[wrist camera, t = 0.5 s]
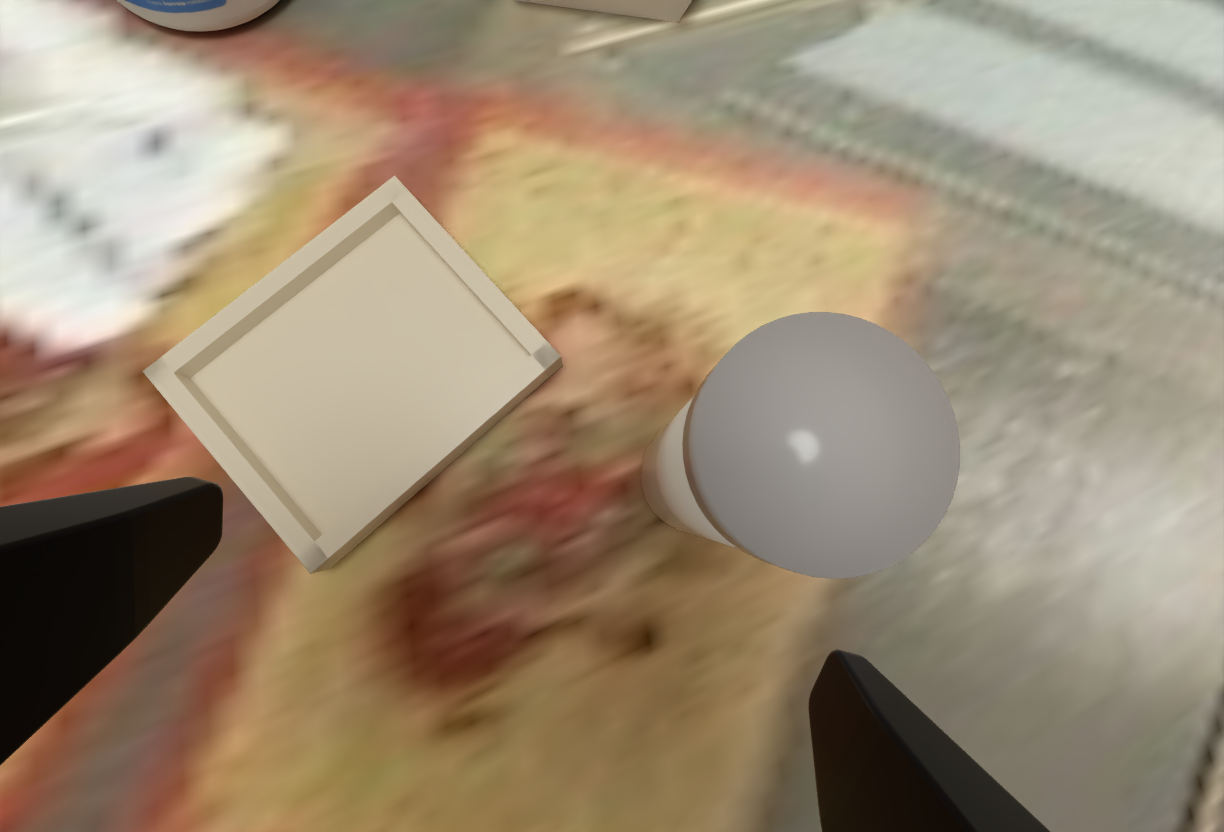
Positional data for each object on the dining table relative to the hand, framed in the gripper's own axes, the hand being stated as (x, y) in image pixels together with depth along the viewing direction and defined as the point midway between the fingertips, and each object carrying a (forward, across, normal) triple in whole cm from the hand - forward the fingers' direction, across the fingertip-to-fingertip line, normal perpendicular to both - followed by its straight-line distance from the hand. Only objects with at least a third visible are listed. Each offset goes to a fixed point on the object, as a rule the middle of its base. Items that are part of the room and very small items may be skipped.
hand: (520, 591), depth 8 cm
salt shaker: (+15, -4, +4) cm, 16 cm away
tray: (+15, +9, +3) cm, 18 cm away
